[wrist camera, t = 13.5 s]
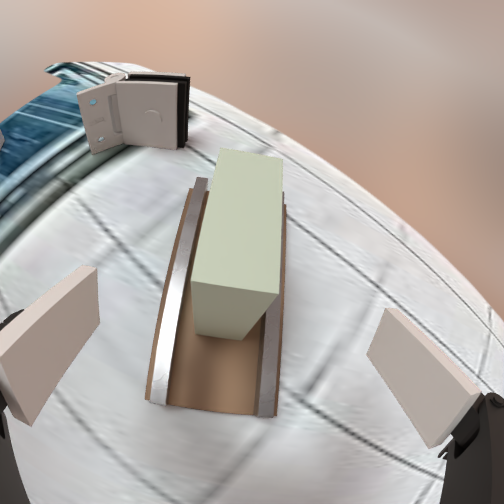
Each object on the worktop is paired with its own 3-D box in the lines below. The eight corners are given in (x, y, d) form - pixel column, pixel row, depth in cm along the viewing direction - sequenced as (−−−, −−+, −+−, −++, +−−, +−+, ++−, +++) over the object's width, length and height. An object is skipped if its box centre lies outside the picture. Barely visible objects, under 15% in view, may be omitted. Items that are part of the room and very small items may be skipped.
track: (146, 398, 20) (139, 400, 17) (189, 193, 30) (189, 175, 28) (273, 415, 21) (283, 418, 18) (283, 209, 32) (291, 193, 29)
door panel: (195, 334, 22) (190, 280, 12) (210, 243, 27) (220, 147, 16) (241, 340, 23) (278, 293, 12) (250, 249, 27) (282, 159, 17)
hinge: (90, 155, 31) (74, 95, 22) (100, 132, 34) (89, 76, 25) (186, 150, 34) (188, 84, 25) (188, 127, 36) (191, 67, 28)
